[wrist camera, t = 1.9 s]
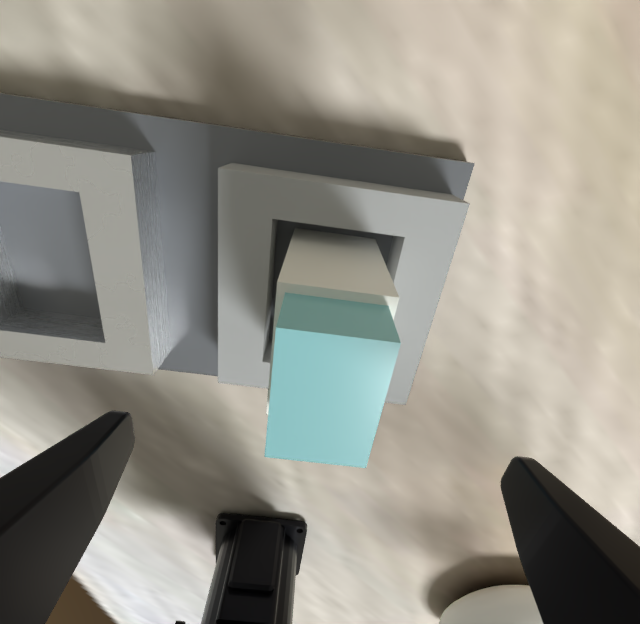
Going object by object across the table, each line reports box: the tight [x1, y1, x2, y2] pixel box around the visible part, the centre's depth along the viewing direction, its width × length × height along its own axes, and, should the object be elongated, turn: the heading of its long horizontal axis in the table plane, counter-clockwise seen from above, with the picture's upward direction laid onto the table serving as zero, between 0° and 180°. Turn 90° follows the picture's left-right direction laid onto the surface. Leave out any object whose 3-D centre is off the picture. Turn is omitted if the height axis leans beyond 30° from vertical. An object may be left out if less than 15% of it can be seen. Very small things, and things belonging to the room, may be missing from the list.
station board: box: [0, 93, 474, 376], centre depth 17 cm, size 22×12×1 cm, turn 82°
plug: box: [265, 228, 401, 468], centre depth 13 cm, size 4×5×8 cm
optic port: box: [0, 130, 170, 375], centre depth 15 cm, size 9×10×2 cm
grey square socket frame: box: [218, 163, 469, 405], centre depth 16 cm, size 9×10×2 cm
